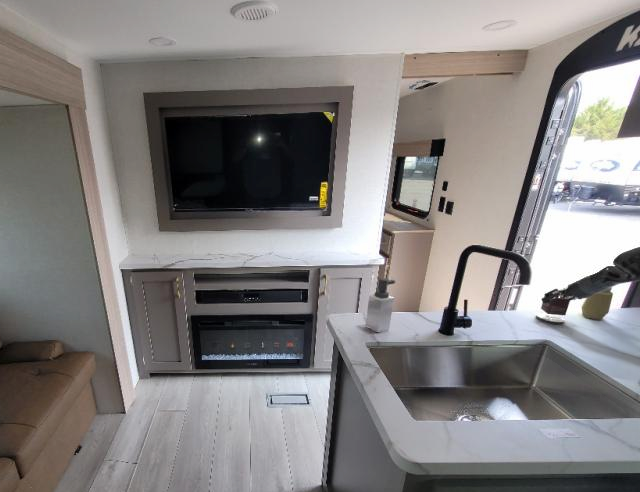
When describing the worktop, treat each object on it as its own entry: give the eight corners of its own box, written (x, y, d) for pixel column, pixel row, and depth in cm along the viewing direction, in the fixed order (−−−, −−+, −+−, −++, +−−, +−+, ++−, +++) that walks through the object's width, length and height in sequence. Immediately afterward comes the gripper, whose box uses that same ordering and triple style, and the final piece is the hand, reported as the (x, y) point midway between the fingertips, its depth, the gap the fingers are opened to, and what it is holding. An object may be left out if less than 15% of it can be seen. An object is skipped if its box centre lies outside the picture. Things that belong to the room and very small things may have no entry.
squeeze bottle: (610, 322, 135) (627, 281, 128) (585, 320, 137) (601, 280, 131) (597, 314, 142) (613, 275, 135) (574, 312, 144) (588, 273, 138)
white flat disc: (558, 316, 141) (559, 314, 140) (567, 326, 133) (568, 323, 133) (532, 313, 144) (533, 311, 144) (539, 322, 137) (540, 319, 136)
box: (565, 316, 132) (571, 299, 130) (547, 314, 134) (552, 298, 132) (557, 310, 138) (563, 294, 135) (540, 308, 140) (545, 292, 137)
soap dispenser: (393, 328, 135) (400, 279, 128) (377, 333, 132) (383, 283, 124) (381, 322, 141) (387, 274, 133) (365, 326, 138) (371, 278, 130)
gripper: (573, 294, 120) (538, 309, 135) (614, 293, 119) (574, 308, 134) (564, 276, 123) (531, 293, 138) (604, 275, 122) (566, 292, 137)
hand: (552, 300), depth 136 cm, fingers closed on box, 7 cm apart
